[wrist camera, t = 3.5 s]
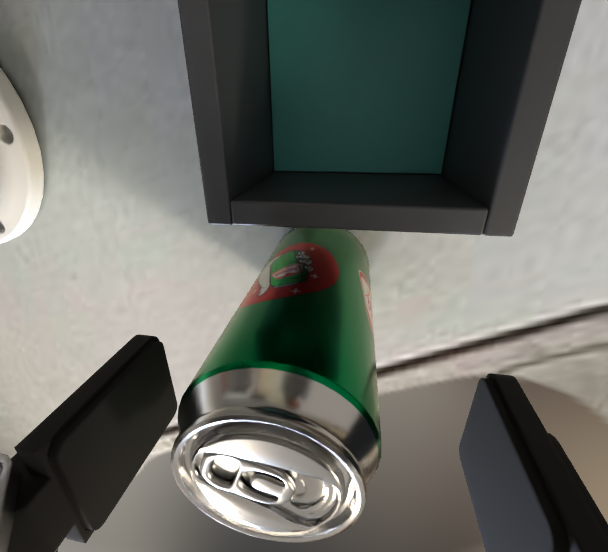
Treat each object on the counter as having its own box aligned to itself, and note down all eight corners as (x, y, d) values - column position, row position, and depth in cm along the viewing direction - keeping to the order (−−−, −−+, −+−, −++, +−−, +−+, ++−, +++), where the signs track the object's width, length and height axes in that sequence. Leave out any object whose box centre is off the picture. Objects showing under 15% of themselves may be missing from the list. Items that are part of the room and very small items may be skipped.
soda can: (347, 316, 19) (333, 575, 8) (265, 286, 19) (143, 508, 8) (384, 239, 16) (431, 460, 6) (290, 204, 16) (166, 365, 6)
